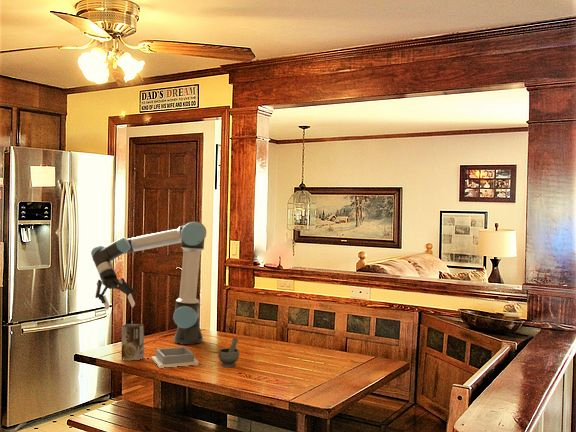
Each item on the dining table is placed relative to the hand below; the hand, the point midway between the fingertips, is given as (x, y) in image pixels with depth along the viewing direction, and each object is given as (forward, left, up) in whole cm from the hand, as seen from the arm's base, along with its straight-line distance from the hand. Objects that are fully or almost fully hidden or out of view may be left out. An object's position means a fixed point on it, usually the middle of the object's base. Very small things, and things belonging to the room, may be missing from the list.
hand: (121, 306), depth 294 cm
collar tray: (-21, +23, -23) cm, 39 cm away
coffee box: (-4, +10, -24) cm, 26 cm away
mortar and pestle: (-43, +37, -24) cm, 62 cm away
